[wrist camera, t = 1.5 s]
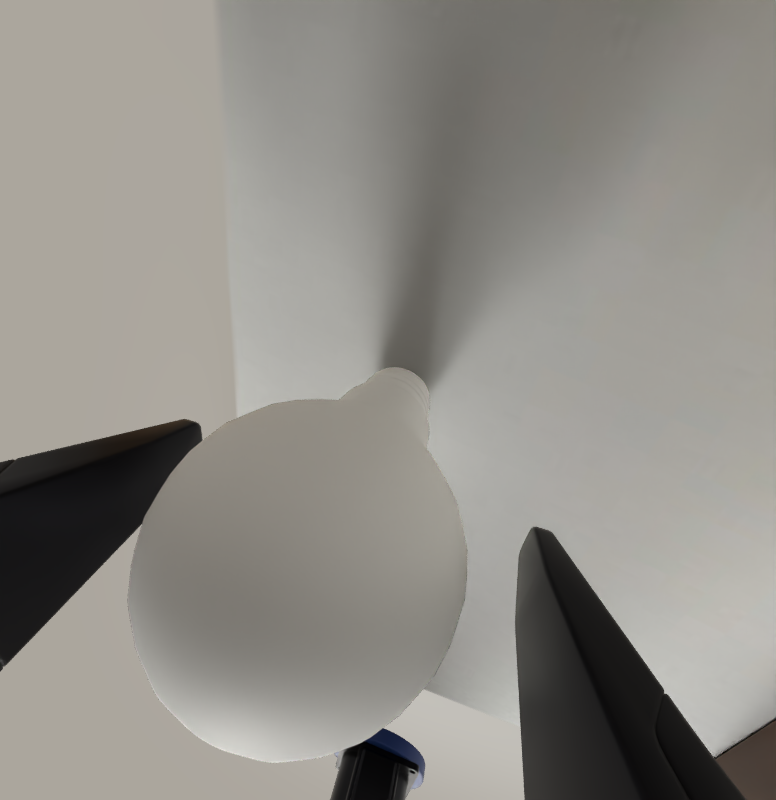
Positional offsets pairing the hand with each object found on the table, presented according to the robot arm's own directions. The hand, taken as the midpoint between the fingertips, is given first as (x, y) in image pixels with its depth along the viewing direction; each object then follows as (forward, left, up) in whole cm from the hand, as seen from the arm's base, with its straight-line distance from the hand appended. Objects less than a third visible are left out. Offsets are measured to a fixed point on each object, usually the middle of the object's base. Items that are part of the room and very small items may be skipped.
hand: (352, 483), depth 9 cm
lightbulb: (0, 0, -6) cm, 6 cm away
